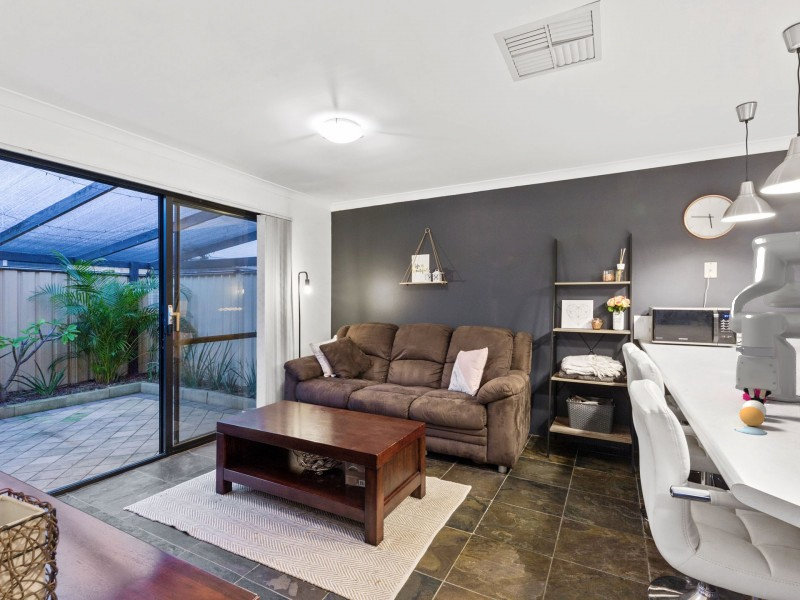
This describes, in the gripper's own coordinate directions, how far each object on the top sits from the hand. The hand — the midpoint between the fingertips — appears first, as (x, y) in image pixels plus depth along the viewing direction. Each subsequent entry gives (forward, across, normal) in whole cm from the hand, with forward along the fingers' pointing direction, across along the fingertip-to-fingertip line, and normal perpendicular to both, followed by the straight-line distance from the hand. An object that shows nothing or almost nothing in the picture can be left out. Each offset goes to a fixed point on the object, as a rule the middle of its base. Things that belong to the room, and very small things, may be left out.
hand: (757, 410), depth 127 cm
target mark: (+2, 0, -21) cm, 21 cm away
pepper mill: (+2, -3, +22) cm, 22 cm away
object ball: (-1, 0, -15) cm, 15 cm away
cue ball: (-1, 0, -6) cm, 6 cm away
